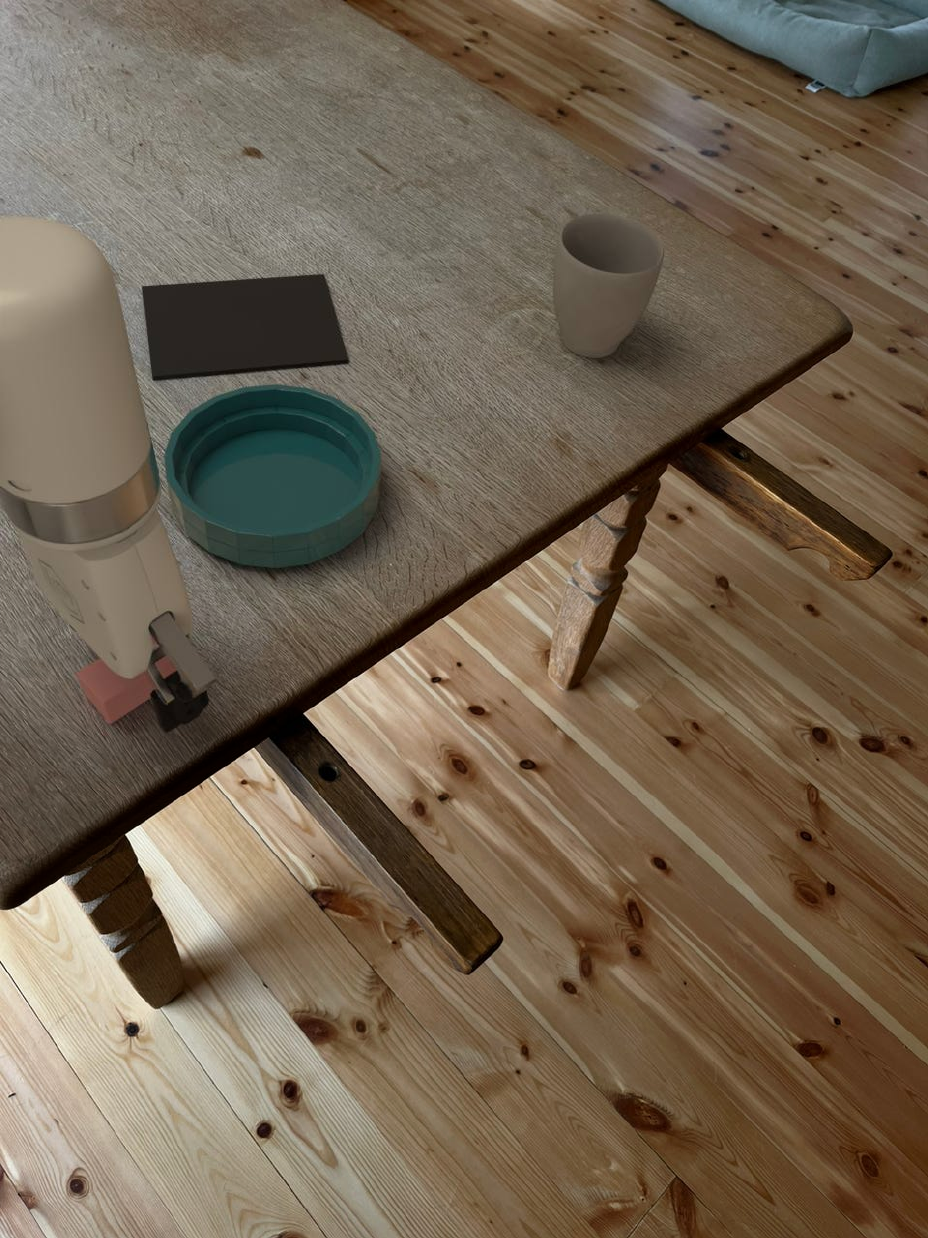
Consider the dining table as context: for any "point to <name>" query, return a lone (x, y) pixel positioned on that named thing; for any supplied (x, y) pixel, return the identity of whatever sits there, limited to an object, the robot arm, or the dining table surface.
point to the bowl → (273, 475)
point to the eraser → (118, 687)
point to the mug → (603, 280)
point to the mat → (241, 326)
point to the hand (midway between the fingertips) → (139, 666)
